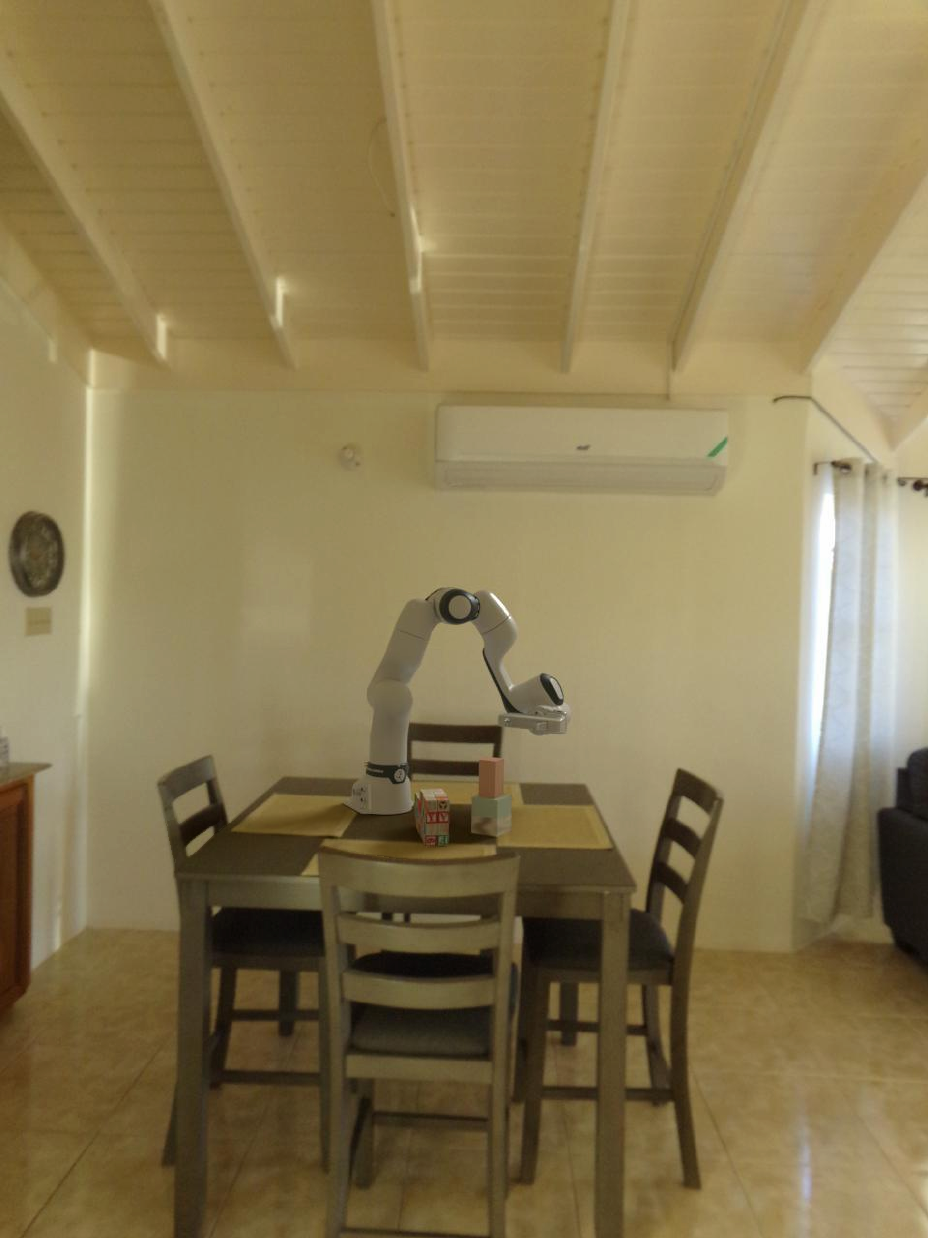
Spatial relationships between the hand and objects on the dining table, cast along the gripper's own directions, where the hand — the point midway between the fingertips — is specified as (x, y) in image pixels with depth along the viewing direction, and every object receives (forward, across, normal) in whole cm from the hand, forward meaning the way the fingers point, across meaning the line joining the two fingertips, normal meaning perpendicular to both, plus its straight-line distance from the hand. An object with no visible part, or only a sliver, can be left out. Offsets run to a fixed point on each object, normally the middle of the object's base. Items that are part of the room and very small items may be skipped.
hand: (520, 725), depth 269 cm
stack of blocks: (+29, -11, +28) cm, 42 cm away
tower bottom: (+17, +1, +27) cm, 32 cm away
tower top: (+17, +1, +22) cm, 28 cm away
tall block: (+17, 0, +17) cm, 24 cm away
